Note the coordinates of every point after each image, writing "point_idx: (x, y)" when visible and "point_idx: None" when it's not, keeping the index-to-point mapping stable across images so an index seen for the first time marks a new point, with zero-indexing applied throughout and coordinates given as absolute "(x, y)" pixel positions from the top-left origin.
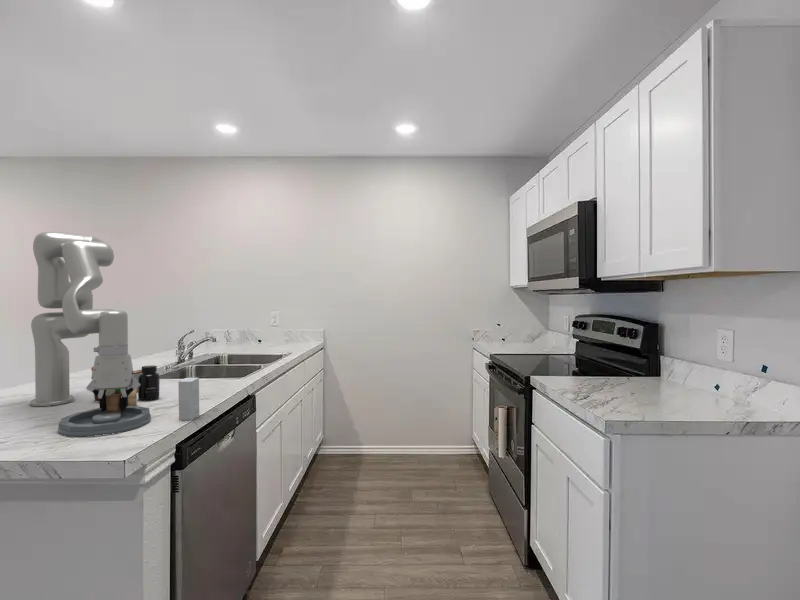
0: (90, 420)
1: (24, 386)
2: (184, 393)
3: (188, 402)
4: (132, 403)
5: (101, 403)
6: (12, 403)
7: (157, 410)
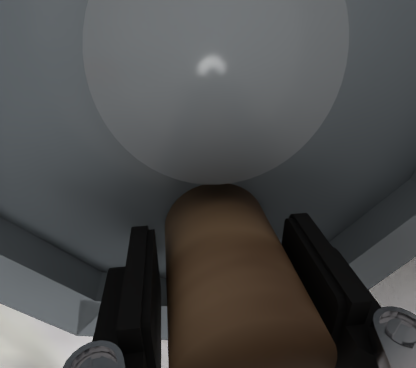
0: (347, 94)
1: None
2: None
3: None
4: None
5: (338, 258)
6: None
7: (12, 348)
